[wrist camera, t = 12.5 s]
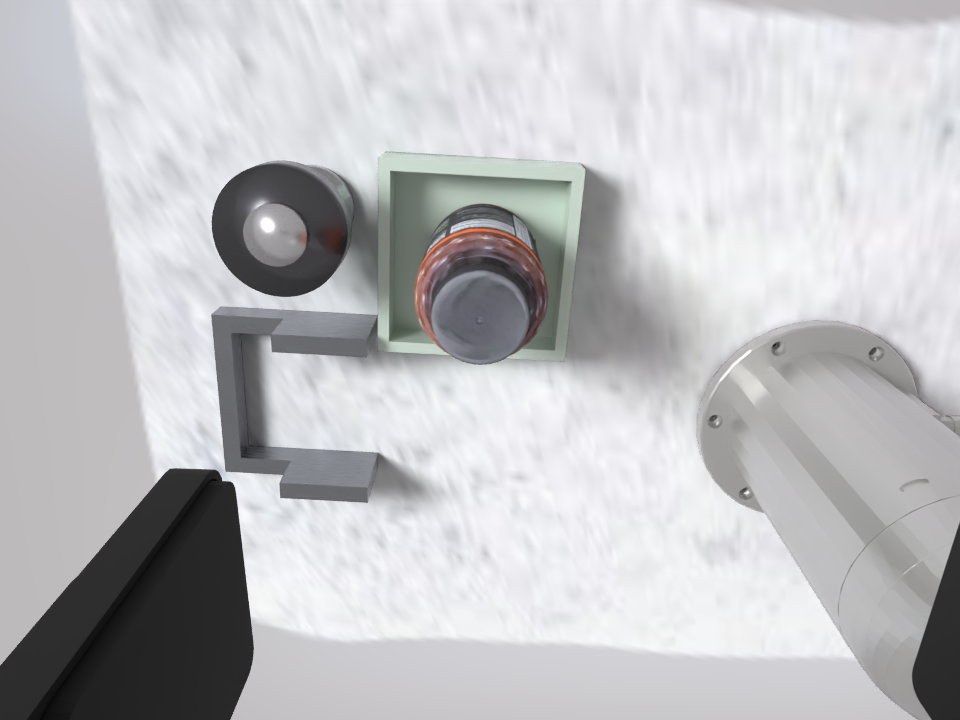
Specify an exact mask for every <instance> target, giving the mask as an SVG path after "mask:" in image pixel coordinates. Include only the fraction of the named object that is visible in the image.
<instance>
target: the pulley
mask: <svg viewBox="0 0 960 720" xmlns="http://www.w3.org/2000/svg"><path fill="white" fill-rule="evenodd" d="M353 216H354V203H353V198H352V195H351V192H350V190H349V188H348V187H347V185H346V184H345V182H344V181H343V180H342V179H341V178H340V177H339V176H338V175H337V174H335V173H334V172H333V171H331V170H329V169H327V168H324V167H321V166H317V165H303V164H300V163H296V162H291V161H271V162H266V163H263V164H260V165H257V166H255V167H252V168H250V169H247V170H245V171H243V172H241V173H239V174H238V175H236V176H235V177H234V178H232V179H231V180H230V181H229V182H228V183H227V184H226V185H225V187H224V188H223V189H222V191H221V192H220V194H219V196H218V198H217V200H216V203H215V206H214V210H213V215H212V232H213V238H214V242H215V245H216V248H217V250H218V253H219V255H220V257H221V259H222V260H223V262H224V263H225V265H226V266H227V268H228V269H229V270H230V271H231V272H232V273H233V274H234V275H235V276H236V277H237V278H238V279H239V280H240V281H242V282H243V283H244V284H246V285H247V286H249V287H251V288H253V289H255V290H257V291H259V292H262V293H265V294H268V295H273V296H280V297H291V296H298V295H302V294H306V293H308V292H311V291H313V290H315V289H316V288H318V287H320V286H321V285H322V284H324V283H325V282H326V281H327V280H328V279H329V278H330V277H331V276H332V275H333V273H334V272H335V271H336V270H337V268H338V267H339V266H340V264H341V263H342V261H343V260H344V258H345V256H346V254H347V251H348V248H349V245H350V239H351V223H352V220H353Z"/></svg>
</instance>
